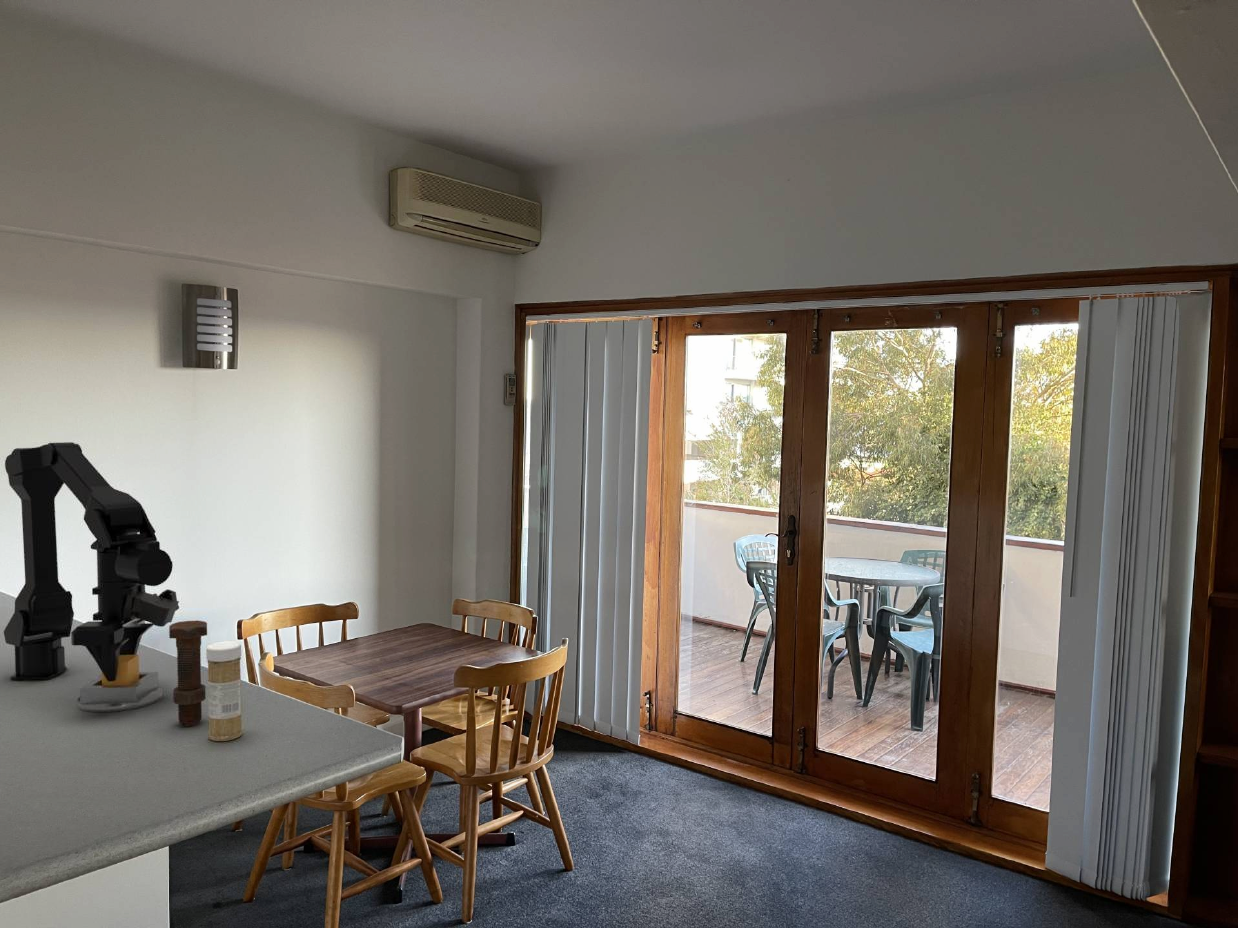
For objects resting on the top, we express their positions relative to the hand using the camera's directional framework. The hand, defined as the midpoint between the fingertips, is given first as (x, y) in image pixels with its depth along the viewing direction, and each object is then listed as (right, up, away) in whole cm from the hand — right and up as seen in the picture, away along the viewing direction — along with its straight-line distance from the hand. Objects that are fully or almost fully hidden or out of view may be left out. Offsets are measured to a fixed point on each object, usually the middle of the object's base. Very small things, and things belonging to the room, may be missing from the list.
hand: (120, 675), depth 148 cm
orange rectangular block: (0, -3, 0) cm, 3 cm away
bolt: (+16, -5, -10) cm, 20 cm away
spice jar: (+24, -5, -16) cm, 29 cm away
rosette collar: (0, -4, 0) cm, 4 cm away
